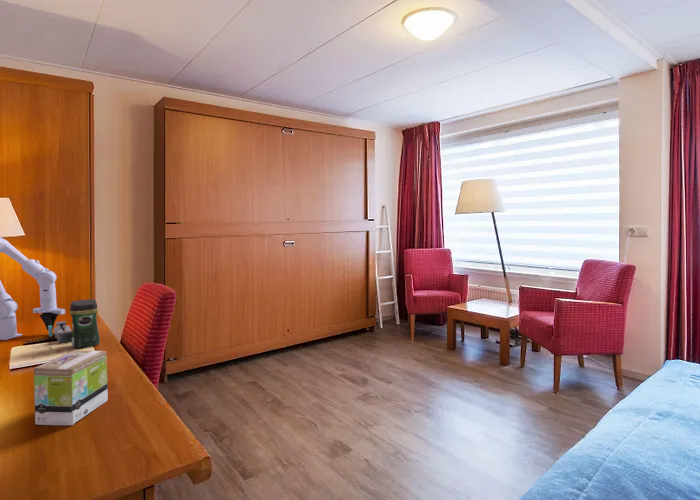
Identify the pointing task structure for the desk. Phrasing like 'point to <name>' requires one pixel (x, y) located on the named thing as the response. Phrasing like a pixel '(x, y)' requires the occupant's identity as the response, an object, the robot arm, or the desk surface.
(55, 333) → the tong arm
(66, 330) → the tongs base
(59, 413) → the tea box
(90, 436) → the desk surface
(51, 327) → the lock tab
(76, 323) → the coffee jar
